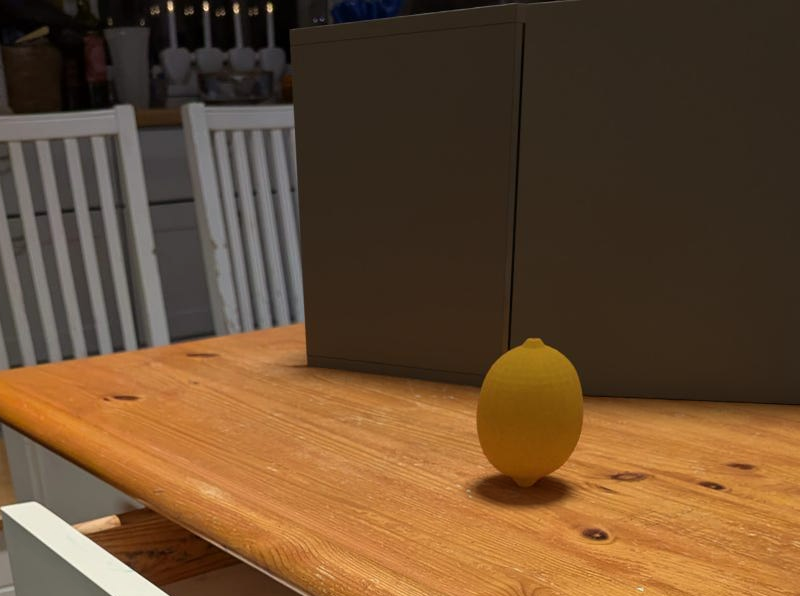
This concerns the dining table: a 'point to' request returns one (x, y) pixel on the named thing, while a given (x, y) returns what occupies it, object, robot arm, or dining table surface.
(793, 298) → the cupboard door
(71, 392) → the dining table surface
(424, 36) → the cupboard
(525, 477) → the lemon
